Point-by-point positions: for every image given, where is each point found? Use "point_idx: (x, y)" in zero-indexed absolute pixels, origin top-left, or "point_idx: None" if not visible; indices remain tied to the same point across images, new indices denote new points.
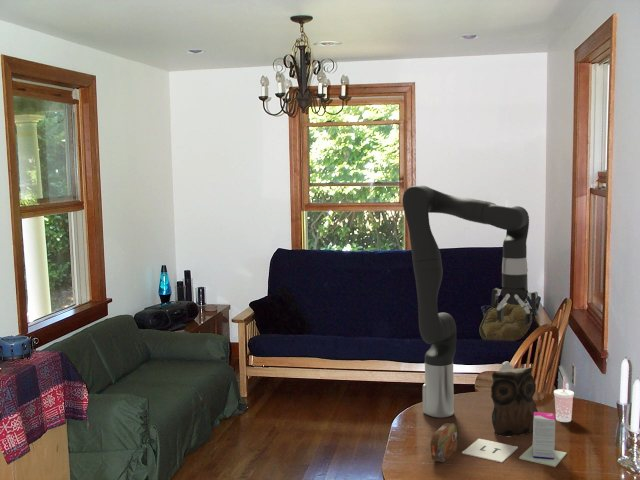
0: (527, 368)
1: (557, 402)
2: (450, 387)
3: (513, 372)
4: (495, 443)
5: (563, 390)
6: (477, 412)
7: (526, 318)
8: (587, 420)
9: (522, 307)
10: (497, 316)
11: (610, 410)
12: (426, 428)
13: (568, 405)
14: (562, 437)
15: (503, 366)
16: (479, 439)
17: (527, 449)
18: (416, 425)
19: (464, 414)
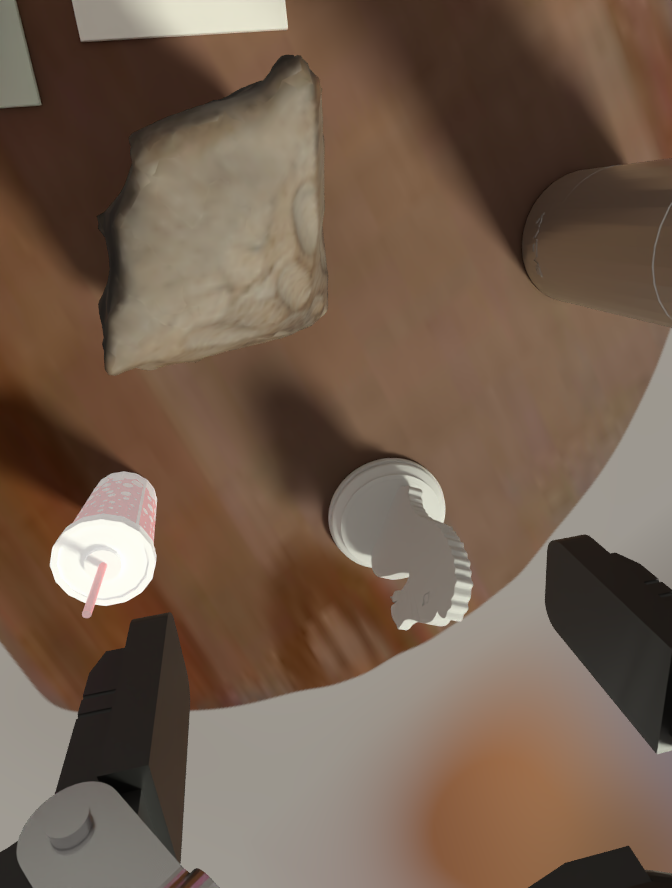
0: (116, 319)
1: (123, 505)
2: (602, 234)
3: (152, 147)
4: (190, 13)
5: (101, 565)
6: (447, 349)
7: (140, 691)
8: (45, 549)
9: (195, 873)
10: (657, 584)
11: (41, 689)
12: (554, 10)
13: (75, 519)
14: (6, 310)
15: (454, 570)
16: (279, 15)
17: (22, 32)
18: (607, 18)
19: (482, 292)
